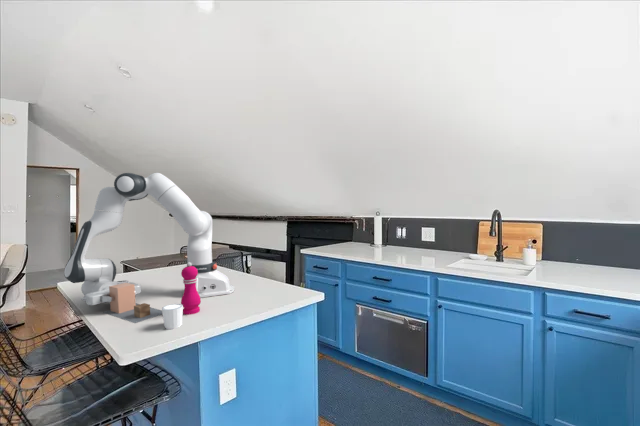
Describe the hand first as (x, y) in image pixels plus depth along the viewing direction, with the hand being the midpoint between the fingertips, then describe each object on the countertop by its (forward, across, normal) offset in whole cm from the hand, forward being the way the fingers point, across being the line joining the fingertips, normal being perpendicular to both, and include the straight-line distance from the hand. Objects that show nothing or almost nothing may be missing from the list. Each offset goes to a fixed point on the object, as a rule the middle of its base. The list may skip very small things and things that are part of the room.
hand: (123, 296), depth 135 cm
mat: (+7, +1, +6) cm, 9 cm away
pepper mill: (+27, +12, +6) cm, 30 cm away
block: (+13, 0, +6) cm, 14 cm away
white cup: (+33, 0, +6) cm, 34 cm away
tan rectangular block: (-1, 0, +6) cm, 6 cm away
